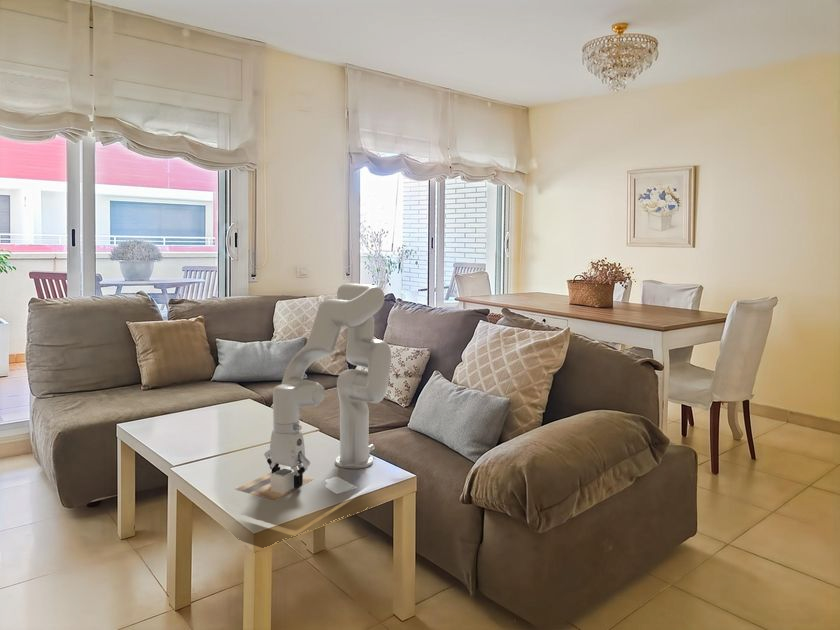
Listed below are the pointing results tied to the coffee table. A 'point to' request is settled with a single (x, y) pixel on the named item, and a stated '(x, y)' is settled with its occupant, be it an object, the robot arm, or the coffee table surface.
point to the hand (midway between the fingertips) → (287, 483)
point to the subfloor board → (266, 487)
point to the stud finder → (283, 480)
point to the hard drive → (338, 485)
